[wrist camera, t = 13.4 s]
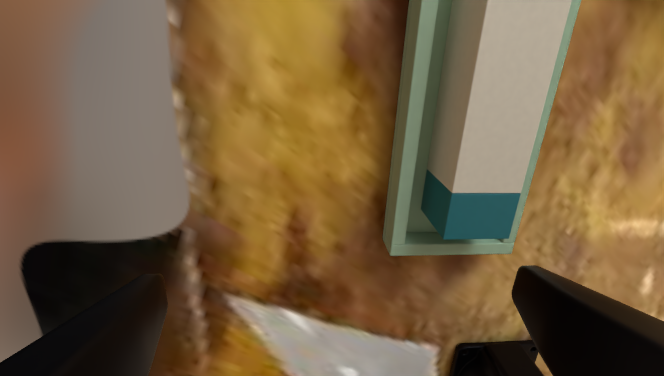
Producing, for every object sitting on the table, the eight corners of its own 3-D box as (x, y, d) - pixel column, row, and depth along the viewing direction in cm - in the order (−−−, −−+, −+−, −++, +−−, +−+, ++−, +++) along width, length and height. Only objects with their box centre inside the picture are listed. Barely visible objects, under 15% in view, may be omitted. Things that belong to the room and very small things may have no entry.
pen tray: (494, 237, 23) (511, 254, 22) (382, 239, 23) (389, 256, 21) (575, -87, 17) (610, -103, 15) (420, -102, 16) (436, -120, 14)
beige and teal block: (458, -42, 17) (498, -63, 13) (530, -37, 17) (587, -56, 14) (420, 209, 21) (443, 240, 18) (476, 209, 22) (509, 239, 19)
